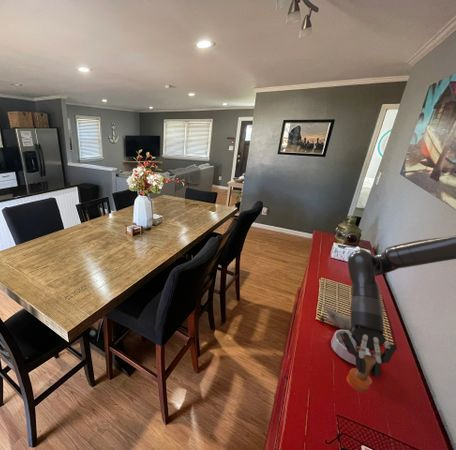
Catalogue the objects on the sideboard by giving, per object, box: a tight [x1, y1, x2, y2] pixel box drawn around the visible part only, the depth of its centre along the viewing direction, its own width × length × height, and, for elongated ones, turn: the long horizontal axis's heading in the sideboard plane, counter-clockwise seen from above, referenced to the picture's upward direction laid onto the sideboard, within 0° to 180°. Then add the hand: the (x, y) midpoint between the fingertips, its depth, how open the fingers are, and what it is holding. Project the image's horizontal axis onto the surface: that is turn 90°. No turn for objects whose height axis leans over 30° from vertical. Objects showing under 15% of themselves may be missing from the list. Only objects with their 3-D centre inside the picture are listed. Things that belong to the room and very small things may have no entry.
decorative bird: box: [321, 306, 351, 331], centre depth 110 cm, size 5×16×8 cm, turn 56°
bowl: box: [330, 329, 371, 366], centre depth 97 cm, size 13×13×6 cm
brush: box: [346, 355, 376, 393], centre depth 71 cm, size 5×5×11 cm
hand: (368, 374), depth 69 cm, fingers closed on brush, 2 cm apart
